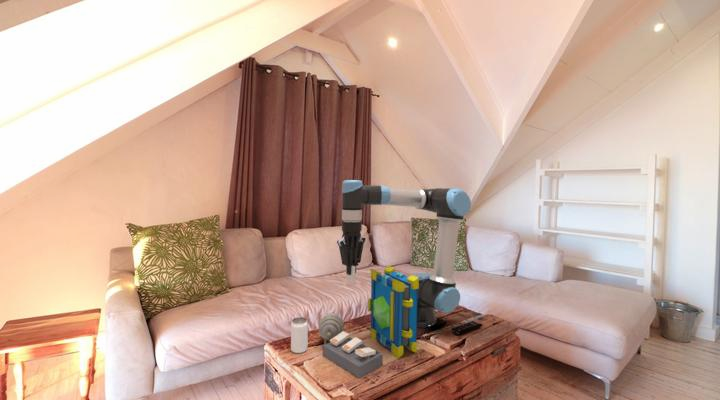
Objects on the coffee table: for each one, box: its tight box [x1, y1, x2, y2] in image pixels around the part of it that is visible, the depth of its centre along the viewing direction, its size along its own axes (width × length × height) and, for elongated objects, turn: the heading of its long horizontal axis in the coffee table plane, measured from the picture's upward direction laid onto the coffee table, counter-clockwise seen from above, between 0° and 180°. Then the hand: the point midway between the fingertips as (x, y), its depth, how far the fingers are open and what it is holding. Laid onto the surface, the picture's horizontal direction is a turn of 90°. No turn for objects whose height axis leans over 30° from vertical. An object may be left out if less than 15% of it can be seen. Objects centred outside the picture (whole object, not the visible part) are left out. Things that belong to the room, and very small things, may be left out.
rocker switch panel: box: [322, 337, 384, 379], centre depth 122 cm, size 12×20×5 cm, turn 44°
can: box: [290, 316, 309, 354], centre depth 129 cm, size 6×6×12 cm
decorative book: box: [367, 265, 419, 360], centre depth 133 cm, size 14×23×30 cm, turn 29°
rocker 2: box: [342, 336, 363, 353], centre depth 122 cm, size 7×4×2 cm, turn 134°
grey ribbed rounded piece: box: [318, 312, 345, 345], centre depth 136 cm, size 11×17×11 cm, turn 3°
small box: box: [355, 346, 377, 357], centre depth 117 cm, size 7×4×2 cm, turn 135°
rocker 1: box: [329, 330, 351, 346], centre depth 127 cm, size 7×4×2 cm, turn 134°
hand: (351, 282), depth 124 cm, fingers closed
